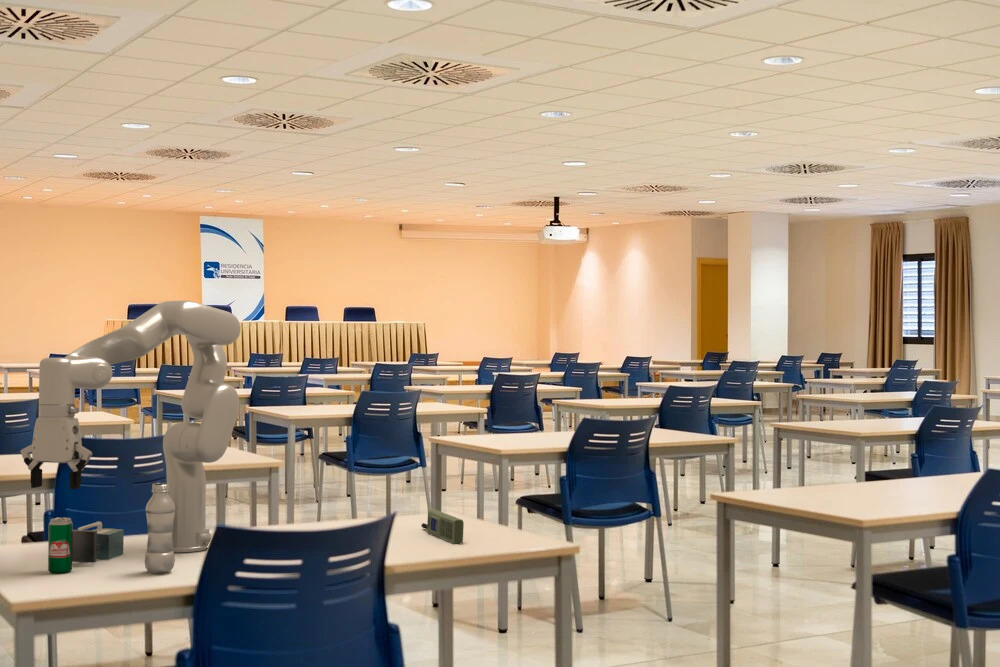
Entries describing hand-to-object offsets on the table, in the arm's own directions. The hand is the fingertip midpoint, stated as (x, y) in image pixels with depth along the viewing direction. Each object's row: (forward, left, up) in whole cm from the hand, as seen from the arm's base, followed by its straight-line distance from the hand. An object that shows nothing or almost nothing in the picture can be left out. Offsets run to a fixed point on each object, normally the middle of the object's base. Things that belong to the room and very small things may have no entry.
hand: (55, 487), depth 251 cm
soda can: (-1, 0, -19) cm, 19 cm away
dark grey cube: (-1, -18, -19) cm, 26 cm away
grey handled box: (-1, -12, -18) cm, 22 cm away
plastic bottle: (-23, -4, -19) cm, 30 cm away
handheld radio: (-75, -62, -19) cm, 99 cm away
